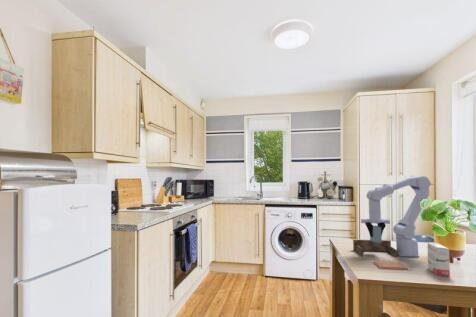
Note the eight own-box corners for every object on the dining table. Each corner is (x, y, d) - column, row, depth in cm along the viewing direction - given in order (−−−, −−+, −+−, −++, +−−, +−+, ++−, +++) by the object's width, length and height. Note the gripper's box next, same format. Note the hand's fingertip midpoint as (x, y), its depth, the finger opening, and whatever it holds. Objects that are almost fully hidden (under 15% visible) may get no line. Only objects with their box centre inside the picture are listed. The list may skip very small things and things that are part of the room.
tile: (399, 263, 125) (399, 261, 125) (408, 269, 117) (408, 267, 117) (373, 262, 126) (373, 260, 127) (380, 268, 119) (380, 266, 119)
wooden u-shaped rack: (390, 251, 145) (389, 240, 145) (399, 257, 135) (398, 245, 135) (353, 250, 147) (353, 239, 148) (359, 255, 137) (359, 244, 138)
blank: (377, 240, 143) (377, 225, 143) (381, 242, 138) (381, 227, 138) (370, 239, 143) (369, 225, 144) (373, 242, 138) (373, 227, 139)
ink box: (451, 276, 109) (449, 248, 110) (437, 275, 110) (436, 247, 111) (439, 269, 118) (438, 242, 119) (427, 268, 119) (426, 242, 120)
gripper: (363, 212, 138) (364, 238, 137) (392, 213, 136) (393, 238, 136) (359, 210, 145) (359, 234, 144) (386, 211, 143) (387, 235, 143)
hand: (375, 236), depth 140 cm, fingers closed on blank, 4 cm apart
